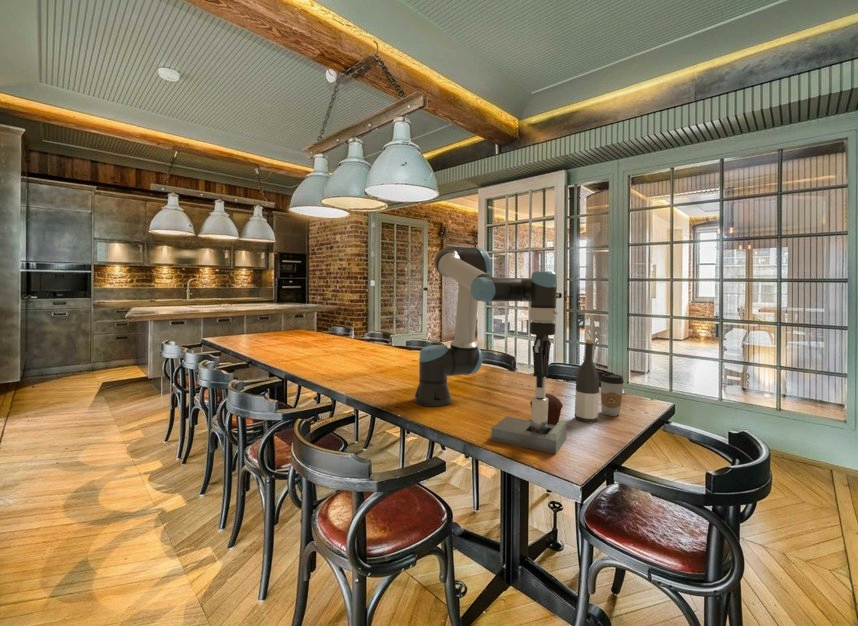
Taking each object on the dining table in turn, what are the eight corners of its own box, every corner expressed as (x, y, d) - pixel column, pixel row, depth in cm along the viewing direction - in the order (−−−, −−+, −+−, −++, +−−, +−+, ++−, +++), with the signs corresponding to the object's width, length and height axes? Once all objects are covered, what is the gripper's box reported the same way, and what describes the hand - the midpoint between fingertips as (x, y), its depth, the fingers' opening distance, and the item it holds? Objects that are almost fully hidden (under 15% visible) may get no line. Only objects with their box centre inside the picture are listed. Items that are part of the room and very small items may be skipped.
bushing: (528, 442, 128) (530, 398, 127) (532, 437, 133) (534, 394, 132) (544, 446, 126) (546, 401, 125) (548, 441, 130) (550, 397, 129)
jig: (491, 440, 129) (491, 421, 129) (506, 427, 142) (506, 410, 141) (555, 454, 120) (556, 434, 119) (566, 439, 132) (566, 421, 131)
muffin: (523, 418, 152) (523, 392, 151) (546, 415, 156) (547, 389, 156) (544, 429, 141) (545, 400, 140) (569, 425, 146) (570, 397, 145)
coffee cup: (599, 415, 158) (600, 376, 157) (598, 409, 165) (600, 372, 164) (623, 418, 155) (625, 378, 154) (621, 412, 162) (623, 374, 161)
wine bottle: (583, 423, 147) (586, 340, 145) (569, 416, 155) (573, 337, 153) (602, 422, 149) (606, 340, 148) (588, 415, 157) (591, 337, 155)
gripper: (549, 323, 119) (547, 403, 120) (559, 321, 130) (557, 394, 132) (524, 322, 123) (522, 400, 124) (536, 319, 134) (534, 391, 135)
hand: (540, 397), depth 128 cm, fingers closed
